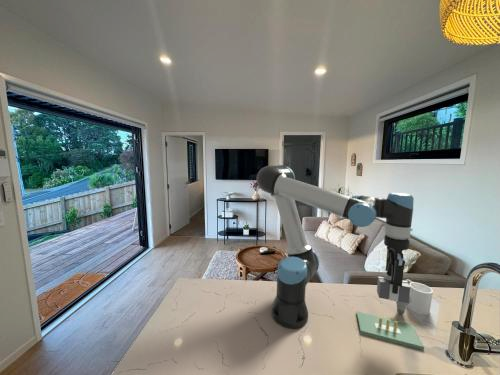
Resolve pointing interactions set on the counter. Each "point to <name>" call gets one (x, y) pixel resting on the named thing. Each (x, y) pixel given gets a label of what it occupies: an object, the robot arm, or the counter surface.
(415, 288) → the cup
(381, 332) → the board
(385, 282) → the block
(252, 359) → the counter surface
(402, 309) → the lightbulb
